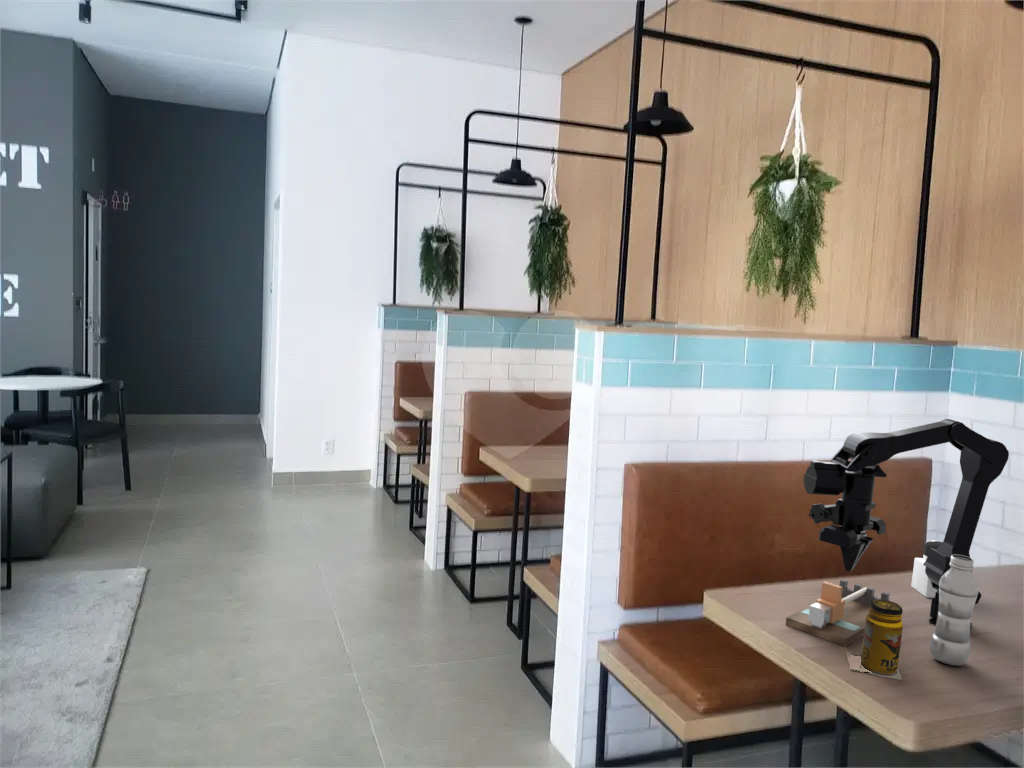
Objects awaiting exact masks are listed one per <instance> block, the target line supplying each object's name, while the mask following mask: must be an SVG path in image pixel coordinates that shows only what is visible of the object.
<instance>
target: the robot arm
mask: <svg viewBox="0 0 1024 768" xmlns="http://www.w3.org/2000/svg"><path fill="white" fill-rule="evenodd" d="M946 443H950V445H952V446H953V447H954V448H956V449H957V450H959V451H960V456H959V466H960V471H961V476H962V479H961V481H960V485H959V487H958V488H959V489H958V492H957V495H956V498H955V502H954V505H953V508H952V512H951V515H950V519H949V521H948V525H947V528H946V532H945V534H944V539H943V540H942V542H943V543H942V544H941V545H940V546H939V547H938V548H937V549H933V548H929V550H928V556H927V559H926V561H925V563H924V564H923V565H924V566H926V569H925V573H926V575H927V577H928V578H929V579H930V580H931V585H932V587H933V588H934V589H936V590H938V591H937V592H936V593H935V597H934V598H931V602H930V611H929V612H930V613H929V617H930V618H929V619H928V622H929V623H931V624H933V625H936V623H937V619H938V611H939V581H940V579H941V577H942V576H943V575H944V573H945V572H947V571H948V570H949V569H950V568H951V566H950V565H949V564H950V561H951V555H953V554H958V555H964V556H968V557H970V558H971V556H970V555H971V554H970V550H971V548H972V547H971V546H972V544H973V540H974V537H975V534H976V531H977V527H978V524H979V520H980V517H981V513H982V511H983V507H984V504H985V501H986V497H987V494H988V491H989V488H990V486H991V484H992V483H993V482H994V481H995V480H996V479H998V477H999V476H1001V474H1002V473H1003V471H1004V469H1005V466H1007V465H1006V464H1007V463H1008V460H1009V456H1010V452H1009V450H1008V448H1007V446H1006V445H1005V444H1004V443H1003V442H1000V441H998V440H994V439H991V438H987V437H985V436H983V435H982V434H980V433H978V432H977V431H974V430H972V428H970V427H968V426H966V424H964V423H963V422H962V421H961V422H960V421H958V420H953V419H950V418H945V419H941V420H940V421H936V422H932V423H927V424H923V425H918V426H913V427H909V428H903V429H901V430H900V429H899V430H896V431H895V430H894V431H891V432H855V433H852V434H849V435H848V436H847V437H846V439H845V440H844V442H843V445H842V447H841V448H840V449H839V450H838V451H837V452H836V453H835V454H834V455H833V456H832V457H831V459H830V460H829V461H821V460H816V459H812V460H810V465H809V466H808V467H807V468H806V471H805V473H804V474H803V486H804V490H805V492H806V494H809V495H819V496H820V495H821V496H822V495H824V496H839V495H840V494H841V498H839V499H837V500H836V501H835V503H834V504H825V505H824V503H818V504H817V503H815V504H812V505H811V507H810V509H809V513H808V516H809V518H811V520H813V524H815V525H816V524H820V523H825V522H832V524H829V525H826V526H823V527H822V528H821V529H820V530H819V532H818V541H821V542H824V543H827V544H831V545H835V546H839V548H840V553H841V555H842V562H843V566H844V570H845V571H846V572H852V571H853V570H854V568H855V566H857V564H858V563H859V562H860V559H861V557H863V555H864V554H865V552H866V551H867V549H868V548H869V546H870V545H871V543H872V542H873V541H874V538H872V537H869V536H868V533H866V532H868V531H870V530H871V531H876V534H877V535H879V536H881V535H885V534H886V531H887V530H886V528H887V523H886V522H885V521H884V519H883V518H879V517H875V516H872V515H871V514H872V510H873V509H875V508H876V505H877V503H876V502H874V501H873V499H874V498H873V497H874V490H875V483H876V477H877V478H886V477H887V476H888V474H887V473H885V472H884V470H882V467H881V466H880V464H882V463H884V462H887V461H889V460H890V459H891V458H892V457H894V456H895V455H898V454H901V453H905V452H910V451H915V450H920V449H924V448H928V447H933V446H937V445H942V444H946ZM849 460H850V461H849ZM972 572H973V570H972V571H971V573H972ZM972 574H973V573H972ZM981 597H982V593H981V592H980V590H979V591H978V595H977V599H976V602H975V605H977V604H978V603H979V601H980V600H981ZM972 626H973V623H972V622H970V628H971V627H972Z"/></svg>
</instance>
